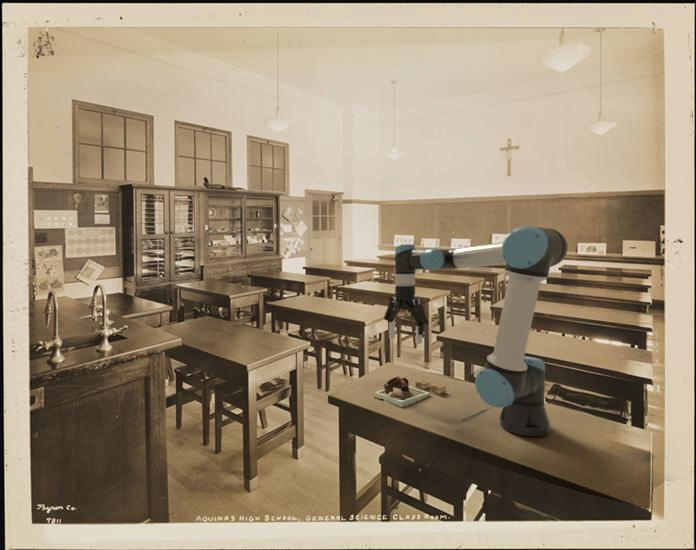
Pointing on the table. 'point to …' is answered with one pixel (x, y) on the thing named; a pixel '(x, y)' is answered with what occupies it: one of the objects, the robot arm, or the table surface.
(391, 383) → the broken pot
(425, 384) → the oak cube
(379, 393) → the tray
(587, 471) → the table surface
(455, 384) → the table surface
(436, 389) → the oak cube
